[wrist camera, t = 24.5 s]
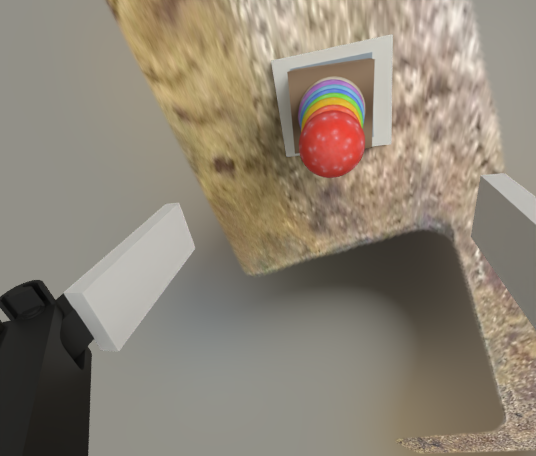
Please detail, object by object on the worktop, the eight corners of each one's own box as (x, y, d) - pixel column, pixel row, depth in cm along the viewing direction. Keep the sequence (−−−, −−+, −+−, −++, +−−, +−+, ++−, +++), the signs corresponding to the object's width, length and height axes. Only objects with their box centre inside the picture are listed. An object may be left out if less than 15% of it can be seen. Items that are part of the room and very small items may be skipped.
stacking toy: (333, 155, 40) (328, 224, 24) (287, 117, 38) (249, 162, 23) (379, 105, 36) (409, 148, 20) (328, 60, 34) (317, 68, 19)
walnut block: (294, 69, 42) (287, 72, 36) (369, 57, 39) (374, 59, 33) (300, 140, 47) (294, 153, 41) (367, 134, 44) (371, 147, 38)
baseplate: (273, 60, 43) (270, 60, 42) (390, 34, 39) (392, 34, 37) (287, 154, 50) (286, 157, 48) (389, 141, 45) (391, 144, 44)
